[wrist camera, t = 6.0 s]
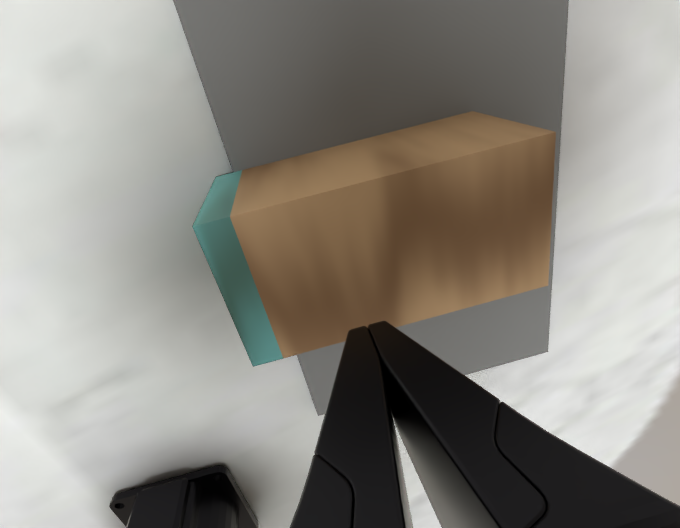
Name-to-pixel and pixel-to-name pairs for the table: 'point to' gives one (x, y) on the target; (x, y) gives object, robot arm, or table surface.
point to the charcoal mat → (386, 113)
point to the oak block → (380, 231)
